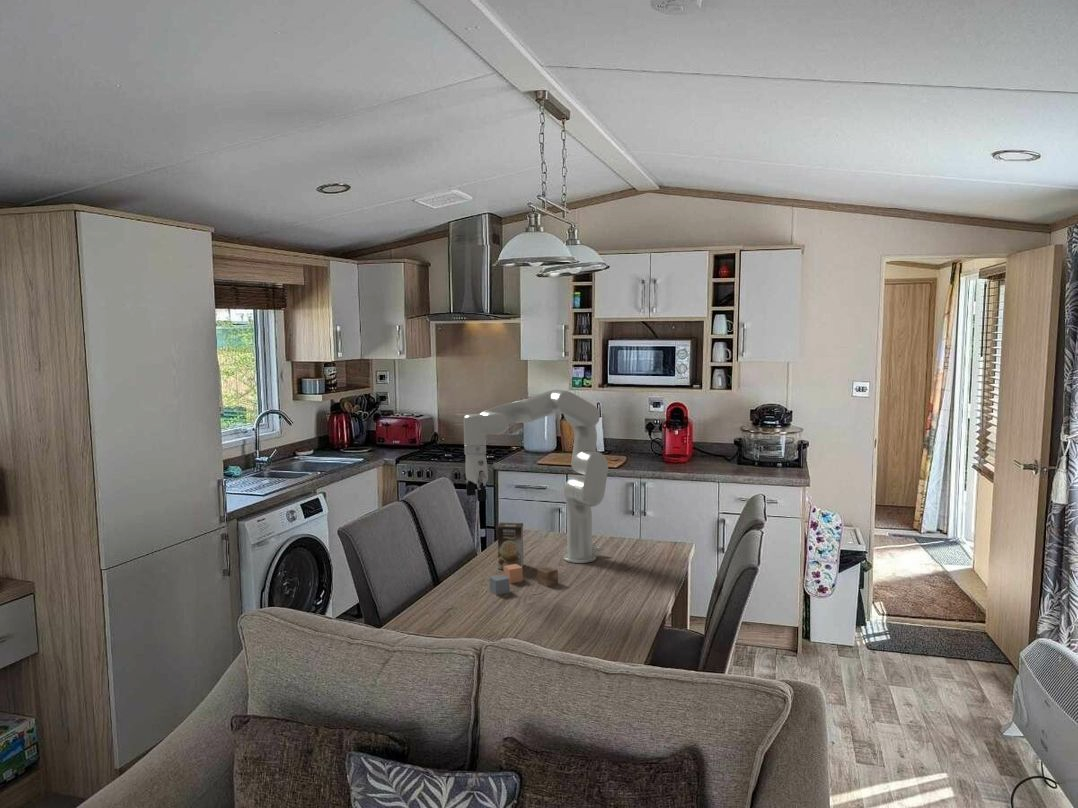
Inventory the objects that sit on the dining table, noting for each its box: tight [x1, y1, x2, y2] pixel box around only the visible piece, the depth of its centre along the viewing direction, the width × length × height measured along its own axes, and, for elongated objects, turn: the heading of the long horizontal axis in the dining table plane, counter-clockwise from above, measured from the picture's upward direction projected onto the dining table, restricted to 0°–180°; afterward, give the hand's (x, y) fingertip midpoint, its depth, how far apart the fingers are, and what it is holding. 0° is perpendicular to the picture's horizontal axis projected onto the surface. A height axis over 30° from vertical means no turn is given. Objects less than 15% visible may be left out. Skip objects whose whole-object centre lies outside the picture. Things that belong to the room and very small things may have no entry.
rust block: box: [502, 564, 524, 584], centre depth 265 cm, size 5×5×5 cm
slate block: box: [489, 573, 511, 596], centre depth 254 cm, size 5×5×5 cm
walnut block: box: [537, 565, 559, 587], centre depth 262 cm, size 5×5×5 cm
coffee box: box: [497, 522, 524, 570], centre depth 280 cm, size 9×6×16 cm
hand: (476, 497), depth 264 cm, fingers open, 9 cm apart
